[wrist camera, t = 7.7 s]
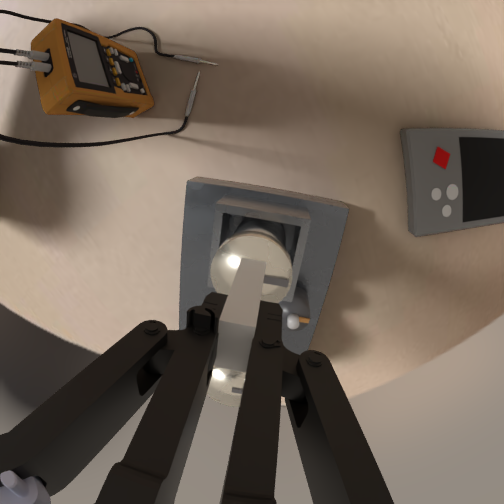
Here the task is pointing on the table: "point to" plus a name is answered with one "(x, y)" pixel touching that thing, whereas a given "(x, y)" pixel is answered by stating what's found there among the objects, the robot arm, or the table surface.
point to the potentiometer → (296, 311)
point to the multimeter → (88, 76)
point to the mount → (268, 208)
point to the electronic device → (453, 178)
